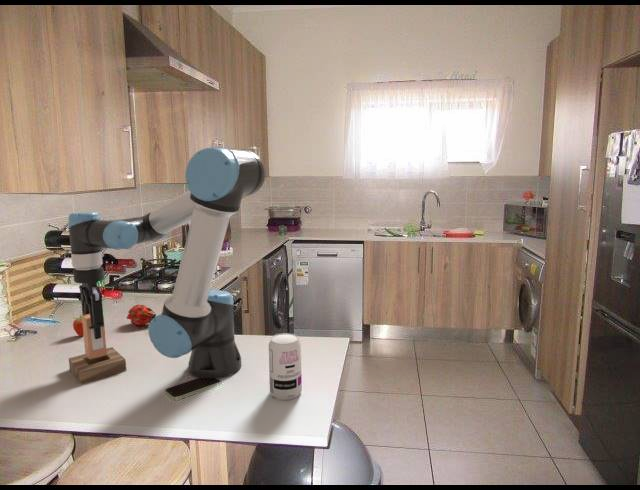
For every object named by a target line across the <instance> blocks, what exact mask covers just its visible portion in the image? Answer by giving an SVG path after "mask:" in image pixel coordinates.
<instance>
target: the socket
mask: <svg viewBox="0 0 640 490" xmlns="http://www.w3.org/2000/svg"><path fill="white" fill-rule="evenodd" d="M106 351H107V355H105V356H101V357H97V358H93V359H89V358H88V357H87V356H86V355H85V353H84V354H80V355H75V356H73V357H69V358H68V366H69V370H70V371H71V373H72V375H73V376H74V377H75V378H76V380H77V381H78V382H79V384H80V385H83V384H86V383H88V382H92V381H95V380H98V379H102V378H105V377H109V376H113V375H116V374H119V373H122V372H123V373H124V372H126V371H127V362H126V358H125V357H123V356H122V355H121V353H119V352H118V351H117V350H116V349H115V348H114V347H111V346H110V347H106Z"/></svg>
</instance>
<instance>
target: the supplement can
mask: <svg viewBox="0 0 640 490" xmlns="http://www.w3.org/2000/svg"><path fill="white" fill-rule="evenodd" d="M268 369H269V371H268V372H269V374H268V375H269V393H270V395H271V396H272V397H273V398H274V399H276V398H277V399H276V400H279V399H280V400H279V401H289V399H290V400H293V398H294V399H296V398H297V397H298V396H299V395H300V394H301V393H302V390H303V389H302V388H303V387H302V385H303V384H302V382H303V381H302V343H301V340H300V338H299V336H298V335H296V334H294V333H286V332H285V333H277V334H275V335H273V336H271V338H270V341H269V343H268Z"/></svg>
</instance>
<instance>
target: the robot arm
mask: <svg viewBox="0 0 640 490" xmlns="http://www.w3.org/2000/svg"><path fill="white" fill-rule="evenodd" d="M266 172H267V171H266V167H265V164H264V162H263V160H262V159H261V158H260V156H259V155H257V154H256V153H255V152H253V151H251V150H248V149H243V148H242V149H241V148H239V149H238V148H237V149H236V148H229V147H223V146H213V147H205V148H202V149H200V150H199V151H197V152H195V153H194V154H193V155H192V157H191V158H190V159H189V161H188V162H187V165H186V169H185V172H184V174H185V177H184V179H185V183H186V184H187V189H188V190H187V191H186V192H184V193H182V194H180V195H178V196H176V197H175V198H173V199H171V200H170V201H169V200H168V202H166V203H164V204H162V205H160V206H158V207H157V208H155V209H153V210H151V211H150V212H148V213H146V214H144V215H142V216H137V217H131V218H130V217H129V218H124V219H115V220H114V219H113V220H109V219H108V220H101V219H100V216H99V213H98V212H97V211H75V212H71V213H69V215H68V227H67V229H68V233H69V234H68V235H69V243H70V252H71V253H70V256H71V265H72V266H71V267H73V268H74V269H73V270H72V275H73V282H74V283H76V284H79V286H78V288H79V292H80V293H79V294H80V300H81V301H80V302H81V315H84V314H89V313H90V319H91V325H92V326H91V327H89V329H91V338H92V349H93V350H97V349H101V348H104V347H103V336H102V326H104V327H105V319H103V316H104V310H103V309H104V308H103V293H102V292H101V289H100V286H99V285H98V283H99V282H101V281H103V280H104V279H105V273H104V267H103V266H102V265H103V264H104V263H103V262H104V261H103V258H104V257H105V254H104V253H103V252H102V250H103V249H110V250H117V251H120V250H129V249H132V248H133V247H134V246H135V245H138V244H139V245H140V244H143V243H148V242H155V241H158V240H161V239H163V238H166V236H167V234H168V233H169V232H172V231H173V230H175V229H177V228H179V227H181V226H183V225H185V224H187V223H189V222H190V223H189V228H188V232H187V235H186V239H185V244H184V248H183V251H182V256H181V260H180V263H179V267H178V271H177V277H176V278H175V284H174V288H173V292H172V293H171V294H169V295H168V296H166V297H165V299H164V302H163V307H162V309H161V310H162V311H161V313H160V314H156V317H155V318H153V319H152V320H151V322H150V323H148V324H149V325H148V336H149V339H150V342H151V343H152V345H153V347H154V348H155V350H156V351H157V352H158V353H159V354H161V355H162V356H164V357H167V358H168V359H169V358H170V359H176V358H181V357H182V356H185V355H188V354H189V353H190V356H189V360H188V363H187V364H188V365H187V366H188V373H189V375H191V376H193V377H195V378H198V379H201V378H217V379H221V378H226V377H229V376H232V375H234V374H236V373H237V372H238V371H239V370H240V369H241V368H242V364H243V363H242V357H241V354H240V351H239V349H238V346H237V344H236V341H235V320H234V315H235V314H234V306H235V304H234V300H233V299H234V297H233V295H232V293H230V291H227V290H226V291H225V290H217V289H211V288H212V284H213V280H214V277H215V273H216V270H217V266H218V263H219V259H220V256H221V252H222V248H223V245H224V241H225V237H226V233H227V230H228V226H229V223H230V219H231V217H232V216H233V215H235V214H238V213H239V210H240V207H241V204H242V200H243V199H245V198H247V197H250V196H253V195H255V194H256V193H257V192H259V191H260V190H261V188H262V187H263V185H264V184H265V182H266V181H265V180H266V177H267V176H266V175H267V173H266ZM80 284H81V285H80Z"/></svg>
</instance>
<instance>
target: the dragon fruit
mask: <svg viewBox="0 0 640 490" xmlns="http://www.w3.org/2000/svg"><path fill="white" fill-rule="evenodd" d="M156 316H157V313H155V311H153V309H152V308H151V307H147V306H146V305H145V304H136V305H133V306H132V307H131V308H130V309H129V310H128V313H127V316H126V319H127V320H129V321H130V323H131V325H132V326H136V325H138V326H140V327H142V328H145V327H146V328H147V327H149V325H147V324H150V322H151V320H152V319H153V318H155V317H156Z"/></svg>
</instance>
